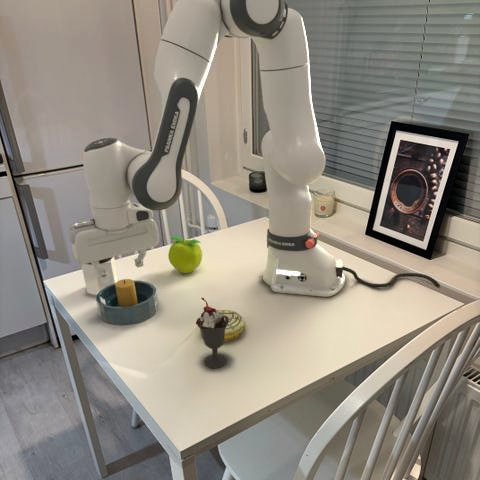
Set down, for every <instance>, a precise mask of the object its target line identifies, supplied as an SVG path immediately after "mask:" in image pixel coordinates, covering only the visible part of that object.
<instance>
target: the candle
mask: <svg viewBox="0 0 480 480" xmlns="http://www.w3.org/2000/svg"><path fill="white" fill-rule="evenodd" d="M115 287H116V292H117V298H118V303H119V307H126V306H132V305H136V304H138V302H137V296H136V290H135V284H134V281H133V279H132V278H124V279H120V280H118V281H117V282H116V283H115Z"/></svg>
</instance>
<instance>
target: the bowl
mask: <svg viewBox="0 0 480 480" xmlns="http://www.w3.org/2000/svg"><path fill="white" fill-rule="evenodd" d="M132 280H133V279H132ZM133 281H134V284H135V290H136V296H137V302H138V304H136V305H132V306H126V307H119V303H118V298H117V292H116V287H115V283H114V284H111V285H109V286H106V287H105V288H103V289H102V290H100V291H99V293H98V294H97V295H95V302H96V307H97V311H98V315H99V317H100V319H101V320H102V321H103V322H105V323H107V324H110V325H115V326H128V325H135V324H139V323H142V322H145V321H147V320H149V319H151V318H152V317H154V316H155V315H156V314H157V312H158V311H159V300H158V299H159V298H158V292H157V287H156V286H155V285H154V284H152V283H151V282H148V281H145V280H144V281H143V280H133Z"/></svg>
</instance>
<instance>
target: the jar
mask: <svg viewBox="0 0 480 480" xmlns="http://www.w3.org/2000/svg"><path fill="white" fill-rule="evenodd" d="M80 265H81V264H80ZM97 266H98V267H99V268H102V267H103V268H104V269H105V270H106V276H105V277H101V278H100V277H99V276H98V272H97V269H96V268H95V267H94V266H93V265H92V264H91V263H87V264H84V265H81V270H82V274H83V279H84V285H85V289H86V293H87V294H90V295H95V296H97V294H98V293H99V291H100V290H102V289H103V288H105V287H106V286H109V285H111V284H114V283H116V282H117V281H119V277H118V270H117V265H116V259H115V257H111V258H107V259H103V260H99V265H97Z"/></svg>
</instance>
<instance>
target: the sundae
mask: <svg viewBox="0 0 480 480" xmlns="http://www.w3.org/2000/svg"><path fill="white" fill-rule="evenodd" d="M200 299H201V300H202V301H204V302H205V304H206V305H205V306H204V307H203V311H202V312H201V313H200V316H199V317H197V319H196V320H195V324H196V326H197V327H198V329H199V328H200V329H201V331H202V333H201V336H202V339H203V342H204V345H205V346H206V347H207V348H208V349H210V350H211V353H212V354H209V355H207V356H206V357H205V358H204V360H203V364H204V365H205V366H206V367H208V368H211V369H219V368H222V367H224V366H226V365H227V363H228V358H227V357H226V356H225V355H224V354H220V353H219V352H218V350H219V349H220V348H221V347H222V346H223V345H224V342H225V341H224V337H225V328H226V326H227V325H228V322H229V318H228V317H227V316H224V315H222V314H220V313H219V311H218V310H219V309H216V308H213V307H211V306H209V304H208V302H207V300H206V299H205V298H204V297H200ZM200 329H199V330H200ZM201 331H200V332H201Z"/></svg>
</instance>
